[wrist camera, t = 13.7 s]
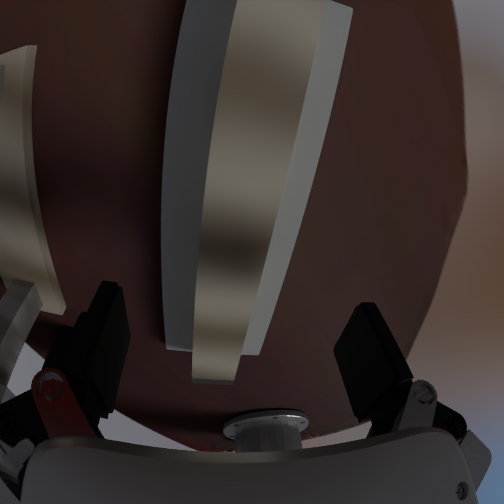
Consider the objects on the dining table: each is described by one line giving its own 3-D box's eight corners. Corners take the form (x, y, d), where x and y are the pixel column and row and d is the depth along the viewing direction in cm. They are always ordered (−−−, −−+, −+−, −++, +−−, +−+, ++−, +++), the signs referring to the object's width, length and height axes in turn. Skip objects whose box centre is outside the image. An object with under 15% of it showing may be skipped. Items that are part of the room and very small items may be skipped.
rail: (230, 353, 23) (232, 385, 20) (193, 350, 22) (191, 382, 20) (308, -3, 9) (330, -21, 6) (243, -17, 8) (247, -41, 6)
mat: (257, 349, 24) (258, 355, 23) (167, 343, 23) (166, 349, 22) (348, 10, 10) (353, 8, 9) (193, -20, 8) (192, -24, 8)
